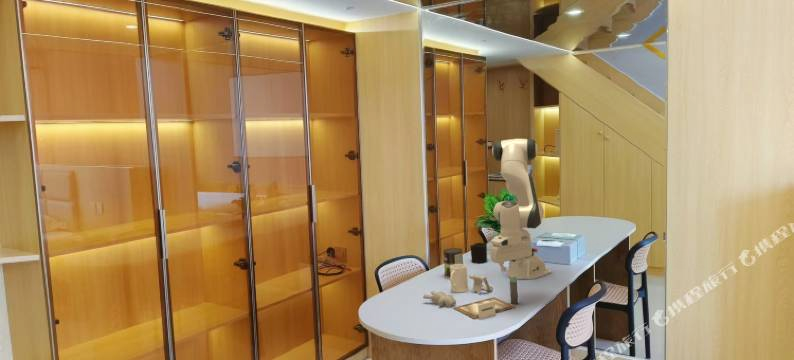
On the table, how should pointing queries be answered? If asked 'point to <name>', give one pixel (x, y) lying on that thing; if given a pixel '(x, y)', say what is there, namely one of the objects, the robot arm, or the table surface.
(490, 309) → the word card
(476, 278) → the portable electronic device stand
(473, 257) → the pen holder
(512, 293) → the marker
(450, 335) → the table surface
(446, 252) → the coffee can
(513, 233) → the robot arm
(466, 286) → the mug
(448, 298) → the bunny figurine
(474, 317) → the picture frame
